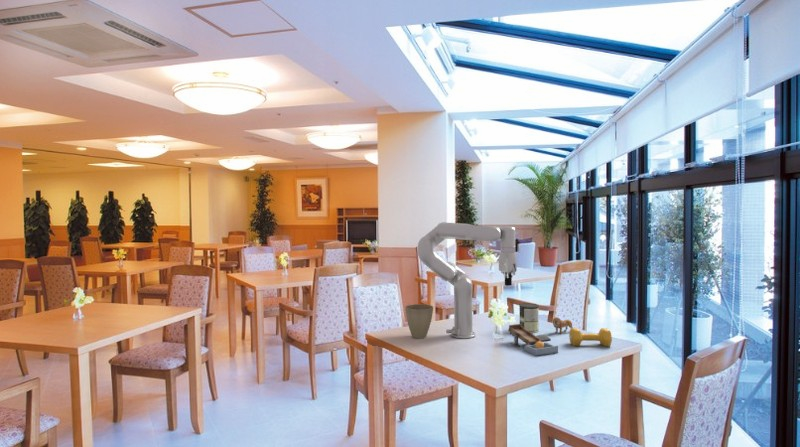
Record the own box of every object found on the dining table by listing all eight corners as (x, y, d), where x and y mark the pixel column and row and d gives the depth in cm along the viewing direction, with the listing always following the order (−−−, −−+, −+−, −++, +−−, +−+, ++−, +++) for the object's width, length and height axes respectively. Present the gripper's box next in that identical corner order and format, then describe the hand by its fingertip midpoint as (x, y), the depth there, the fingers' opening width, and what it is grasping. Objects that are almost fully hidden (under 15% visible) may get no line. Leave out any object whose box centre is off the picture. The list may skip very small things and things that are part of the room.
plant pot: (412, 342, 241) (412, 310, 241) (400, 335, 255) (400, 305, 255) (438, 338, 247) (438, 308, 247) (425, 332, 261) (425, 303, 261)
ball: (533, 340, 225) (533, 349, 225) (538, 342, 221) (539, 351, 221) (540, 339, 226) (540, 348, 226) (545, 341, 222) (546, 350, 222)
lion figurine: (557, 335, 251) (557, 318, 251) (550, 333, 255) (549, 316, 255) (576, 331, 259) (576, 315, 258) (568, 329, 263) (568, 313, 263)
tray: (524, 350, 225) (524, 343, 225) (544, 347, 229) (544, 340, 229) (537, 356, 216) (537, 349, 216) (558, 352, 220) (558, 346, 220)
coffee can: (515, 330, 262) (515, 305, 262) (525, 327, 269) (525, 302, 269) (532, 334, 255) (532, 307, 254) (542, 330, 262) (542, 304, 261)
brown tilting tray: (508, 333, 240) (509, 325, 239) (530, 330, 246) (531, 322, 245) (526, 347, 227) (527, 338, 226) (550, 343, 232) (551, 335, 231)
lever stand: (511, 345, 234) (511, 333, 234) (530, 342, 239) (530, 331, 239) (516, 347, 230) (516, 335, 230) (535, 344, 235) (535, 333, 235)
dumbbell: (607, 343, 236) (607, 326, 236) (613, 348, 227) (613, 331, 227) (567, 342, 238) (567, 326, 238) (572, 347, 229) (572, 330, 229)
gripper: (493, 249, 254) (493, 283, 254) (510, 251, 240) (510, 287, 240) (505, 249, 256) (505, 282, 257) (522, 251, 243) (523, 286, 243)
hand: (508, 285), depth 249 cm, fingers closed
